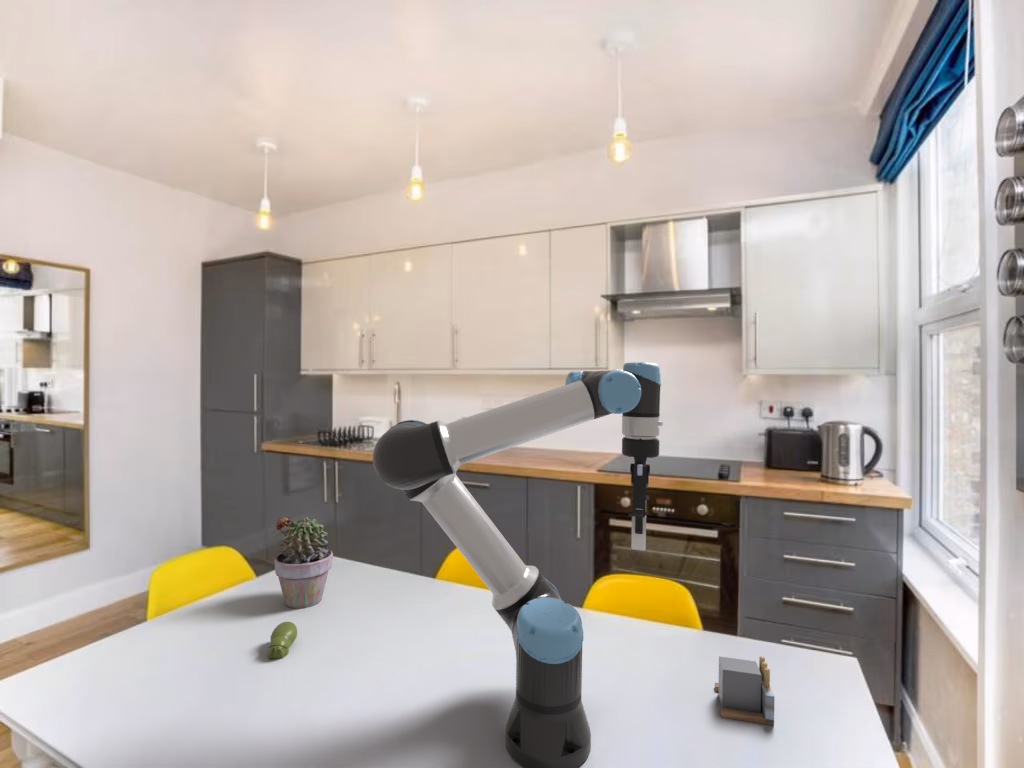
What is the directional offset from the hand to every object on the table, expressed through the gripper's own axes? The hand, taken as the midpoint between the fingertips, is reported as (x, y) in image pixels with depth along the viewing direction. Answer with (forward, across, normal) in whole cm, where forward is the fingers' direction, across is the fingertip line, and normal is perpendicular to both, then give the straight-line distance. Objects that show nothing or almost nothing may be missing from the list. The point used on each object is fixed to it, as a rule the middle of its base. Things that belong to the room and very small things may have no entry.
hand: (638, 539), depth 107 cm
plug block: (+32, +1, -20) cm, 38 cm away
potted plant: (+32, +19, +93) cm, 100 cm away
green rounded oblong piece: (+32, -6, +81) cm, 88 cm away
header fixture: (+32, +1, -21) cm, 38 cm away
